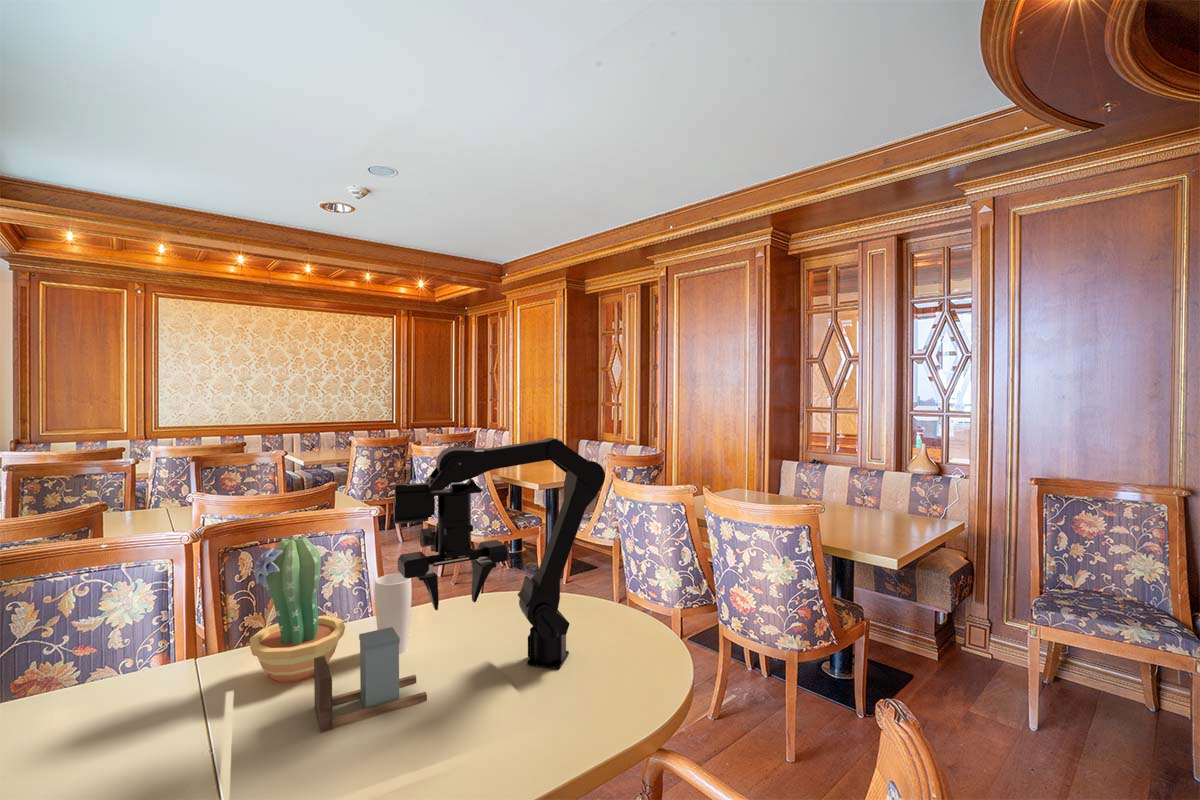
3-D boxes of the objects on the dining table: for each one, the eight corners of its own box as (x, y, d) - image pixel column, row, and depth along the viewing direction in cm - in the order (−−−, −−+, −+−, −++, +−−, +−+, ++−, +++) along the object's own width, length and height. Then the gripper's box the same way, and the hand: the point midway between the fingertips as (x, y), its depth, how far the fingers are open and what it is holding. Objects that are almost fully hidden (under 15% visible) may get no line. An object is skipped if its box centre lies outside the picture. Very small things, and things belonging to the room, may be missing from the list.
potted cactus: (261, 663, 106) (260, 531, 106) (350, 651, 111) (349, 525, 111) (236, 706, 92) (234, 554, 91) (340, 690, 96) (338, 545, 96)
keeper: (393, 689, 94) (392, 626, 94) (400, 703, 90) (399, 638, 90) (359, 698, 91) (359, 634, 91) (365, 713, 87) (364, 646, 87)
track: (414, 686, 98) (414, 635, 97) (427, 708, 91) (426, 652, 91) (311, 715, 89) (311, 658, 89) (317, 741, 82) (316, 680, 82)
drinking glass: (400, 665, 105) (399, 585, 105) (367, 661, 107) (366, 583, 106) (418, 649, 112) (418, 574, 112) (388, 646, 113) (387, 572, 113)
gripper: (487, 505, 112) (488, 583, 112) (390, 516, 102) (391, 602, 102) (510, 515, 103) (510, 600, 103) (404, 529, 93) (405, 623, 93)
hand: (455, 605), depth 100 cm, fingers open, 7 cm apart
